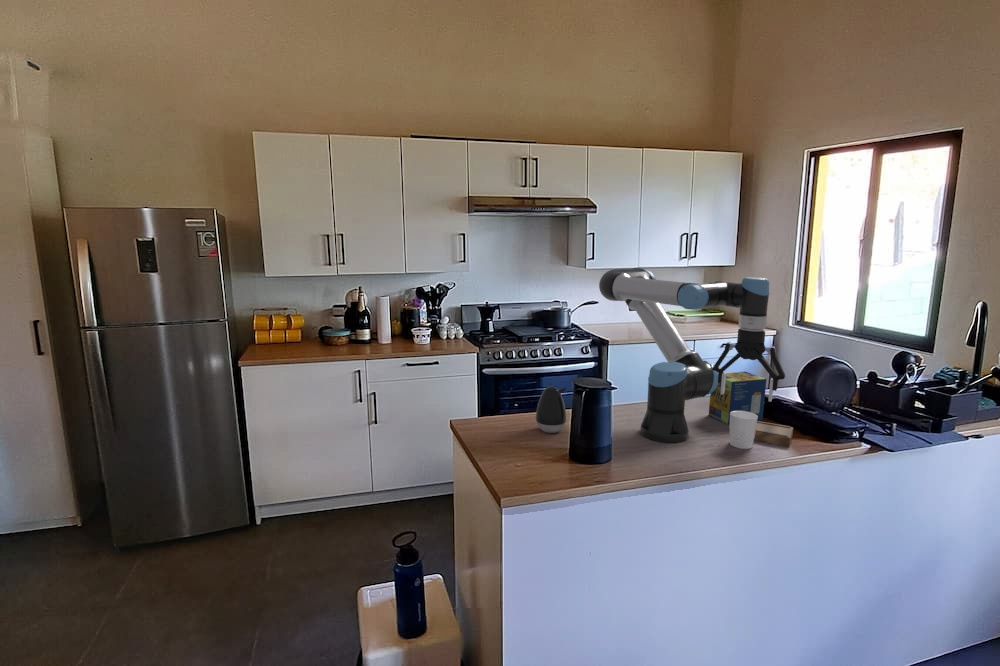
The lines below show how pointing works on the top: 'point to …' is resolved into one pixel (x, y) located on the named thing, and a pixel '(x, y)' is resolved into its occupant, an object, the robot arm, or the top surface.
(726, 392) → the protein box
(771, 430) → the tan flat block
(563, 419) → the dark grey egg
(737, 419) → the white cup
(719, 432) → the top surface
